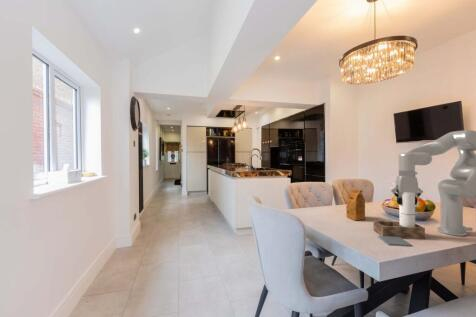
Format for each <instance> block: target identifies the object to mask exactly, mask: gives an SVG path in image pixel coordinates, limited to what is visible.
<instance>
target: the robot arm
mask: <svg viewBox="0 0 476 317" xmlns="http://www.w3.org/2000/svg"><path fill="white" fill-rule="evenodd" d="M455 147H456V149H457V152H458V155H459V157H458V159H457V161H456V162H455V163H454V165H453V167H452V169H451V170H450V172H449V175H450V177H451V179H443V180H441V181H439V183H438V185H437V189H438V193H439V199H440V205H439V206H440V227H437V228H436V230H437V231H438V232H440V233H442V234H445V235H449V236H456V237H464V236H465V237H466V236H467V235H468V233H467V231H469V232H470V231H471V232H472V231H473V227H472V226H471V227H470V226H468V227H467V226H466V225H464V203H463V201H462V198H464V199H465V198H466V199H473V198H475V197H476V153H475V152H476V130H471V129H465V130H463V129H462V130H456V131H450V132H447V133H446V134H444V135H442V136H440V137H438V138H437V139H435V140H433V141H432V142H427V143H425V144H422V145H420V146H418V147H415V148H412V149H410V150H409V151H407V152H401V153H398V175H397V176H396V179H395V185H394V187H393V188H392V189H391V190H390V192H391V193H392V194H393V196H395V197H396V203H397V205H398V206H399V205H402V198H401V196H402V194H403V192H405V193H415V206H417V205H418V199H419V197H420V196H421V195H422V194H423V193H424V191H423V190H422V189H421V188H419V182H418V181H419V180H418V178H417V176H416V175H418V171H416V166H428V165H429V164H431V163H432V160H433V156H439V155H442V154H446V153H447V152H449V151H450V150H452V149H454V148H455Z"/></svg>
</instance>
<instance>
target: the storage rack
mask: <svg viewBox="0 0 476 317" xmlns="http://www.w3.org/2000/svg"><path fill="white" fill-rule="evenodd" d="M372 222H373V223H372V227H373V228H372V229H373V231H374V232H375V233H376V234H378V236H392V237H400V238H402V239H418V240H419V239H421V240H425V239H426V227H423V226H421V225H420V224H418V223H417V224H416V223H415V227H403V226H401V225H399V221H398V220H397V221H393V220H372Z"/></svg>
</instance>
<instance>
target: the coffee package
mask: <svg viewBox="0 0 476 317" xmlns="http://www.w3.org/2000/svg"><path fill="white" fill-rule="evenodd" d="M362 193H363V190H361V189H353V188H352V187H351V188H350V189H349V192H348V195H347V198H346V210H345V211H346V214H345V215H346V218H349V219H350V220H353V221H360V220H361V221H363V220H366V199H365V197H364V195H363V194H362Z"/></svg>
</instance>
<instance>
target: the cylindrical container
mask: <svg viewBox="0 0 476 317" xmlns="http://www.w3.org/2000/svg"><path fill="white" fill-rule="evenodd" d="M401 198H402V205H399V204H398V206H399V208H398V209H399V211H398V212H399V216H398V217H399V218H398V219H399V221H398V222H399V225H401V226H403V227H415V224H416V205H415V193H405V192H403V194H402V196H401Z"/></svg>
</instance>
